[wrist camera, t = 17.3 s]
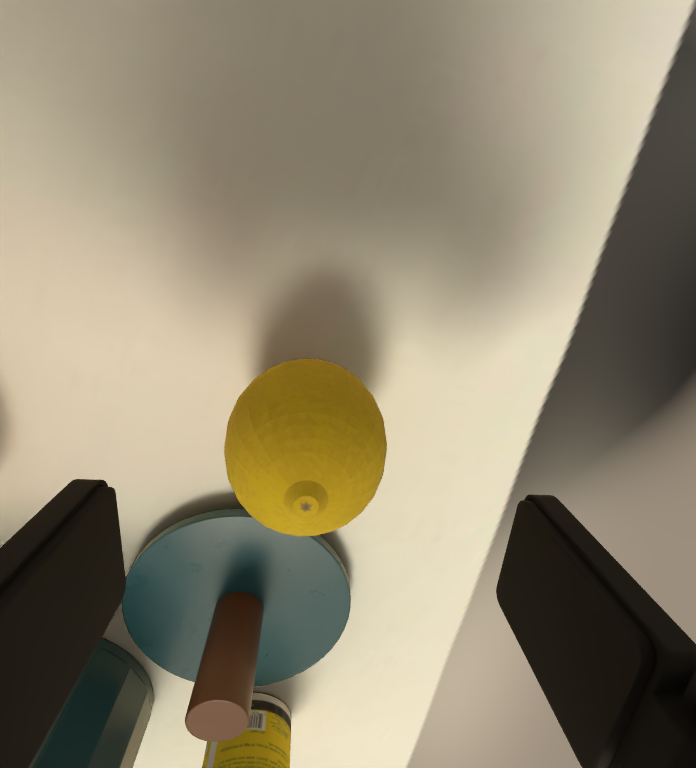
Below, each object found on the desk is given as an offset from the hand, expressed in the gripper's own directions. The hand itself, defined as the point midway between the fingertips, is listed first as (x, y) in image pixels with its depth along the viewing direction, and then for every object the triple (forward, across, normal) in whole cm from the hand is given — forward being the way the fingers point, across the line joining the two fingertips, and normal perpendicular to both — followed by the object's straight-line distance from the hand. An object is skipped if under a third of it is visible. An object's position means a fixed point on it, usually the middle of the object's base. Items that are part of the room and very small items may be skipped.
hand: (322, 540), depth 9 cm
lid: (+8, +3, +11) cm, 14 cm away
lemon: (+9, +1, 0) cm, 9 cm away
